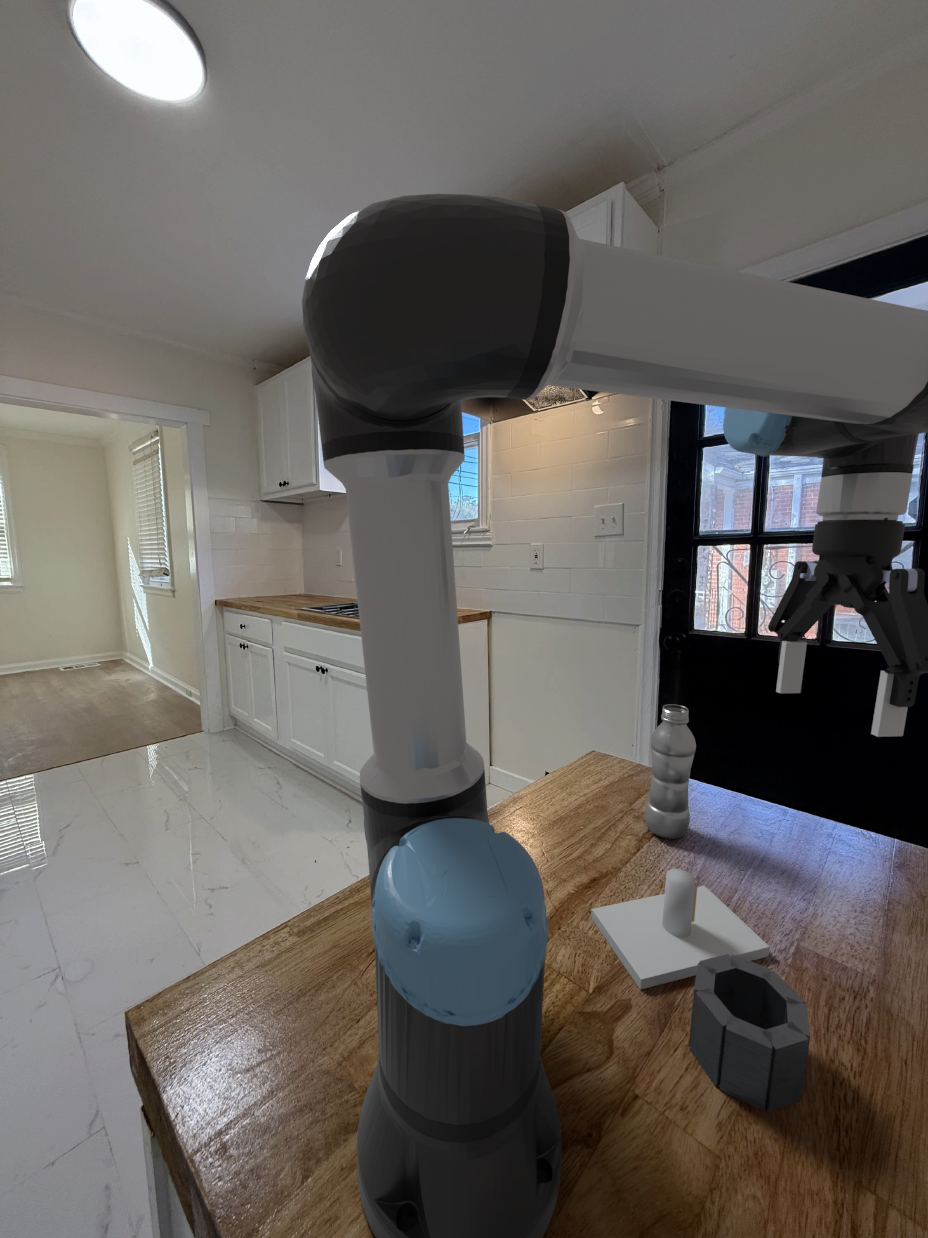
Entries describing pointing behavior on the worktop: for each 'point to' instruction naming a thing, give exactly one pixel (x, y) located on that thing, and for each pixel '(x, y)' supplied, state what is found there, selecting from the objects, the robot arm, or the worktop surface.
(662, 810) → the plastic bottle
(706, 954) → the shaft stand
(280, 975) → the worktop surface
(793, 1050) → the ring
